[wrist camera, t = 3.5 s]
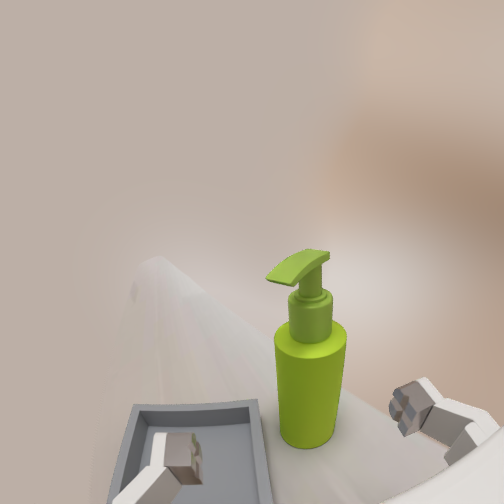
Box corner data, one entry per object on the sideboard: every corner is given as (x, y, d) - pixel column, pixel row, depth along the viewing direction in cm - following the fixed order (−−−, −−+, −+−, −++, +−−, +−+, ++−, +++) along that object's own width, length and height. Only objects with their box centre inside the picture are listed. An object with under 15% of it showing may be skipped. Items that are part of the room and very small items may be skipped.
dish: (276, 525, 14) (275, 515, 13) (123, 519, 14) (105, 507, 13) (260, 418, 28) (257, 398, 27) (144, 422, 27) (133, 403, 26)
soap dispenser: (263, 440, 24) (239, 265, 18) (299, 402, 29) (295, 238, 23) (310, 464, 21) (321, 282, 15) (343, 419, 26) (362, 246, 20)
